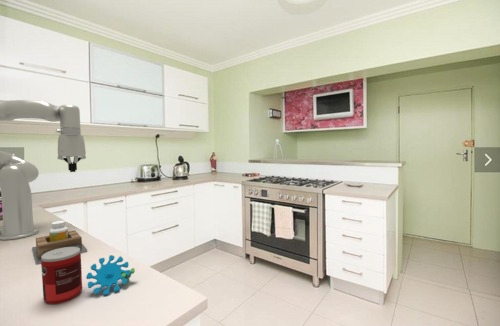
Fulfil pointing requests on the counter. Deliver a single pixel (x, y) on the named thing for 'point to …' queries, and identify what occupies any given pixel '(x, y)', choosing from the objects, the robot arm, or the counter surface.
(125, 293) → the counter surface
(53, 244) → the frame
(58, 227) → the supplement bottle
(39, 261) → the jig plate
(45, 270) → the canned food
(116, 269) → the gear
